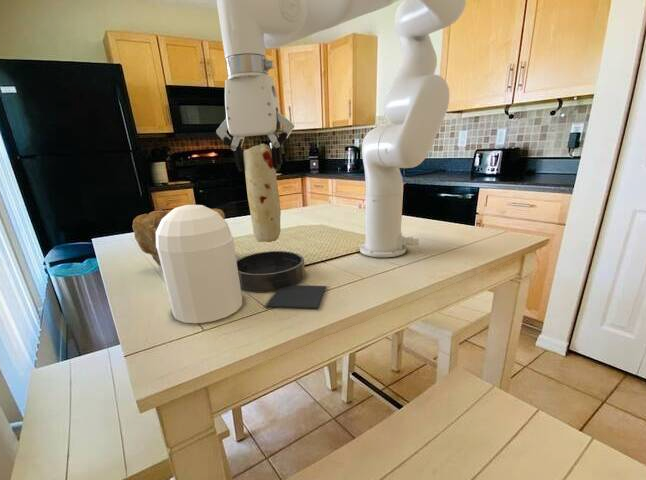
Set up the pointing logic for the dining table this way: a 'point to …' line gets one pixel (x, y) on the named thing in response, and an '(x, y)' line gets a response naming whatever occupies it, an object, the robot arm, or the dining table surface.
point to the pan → (270, 271)
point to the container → (198, 264)
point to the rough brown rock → (152, 231)
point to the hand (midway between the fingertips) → (259, 168)
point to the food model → (262, 192)
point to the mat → (297, 297)
